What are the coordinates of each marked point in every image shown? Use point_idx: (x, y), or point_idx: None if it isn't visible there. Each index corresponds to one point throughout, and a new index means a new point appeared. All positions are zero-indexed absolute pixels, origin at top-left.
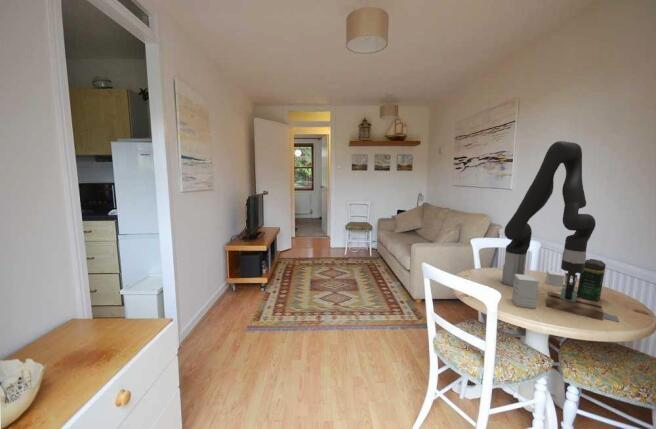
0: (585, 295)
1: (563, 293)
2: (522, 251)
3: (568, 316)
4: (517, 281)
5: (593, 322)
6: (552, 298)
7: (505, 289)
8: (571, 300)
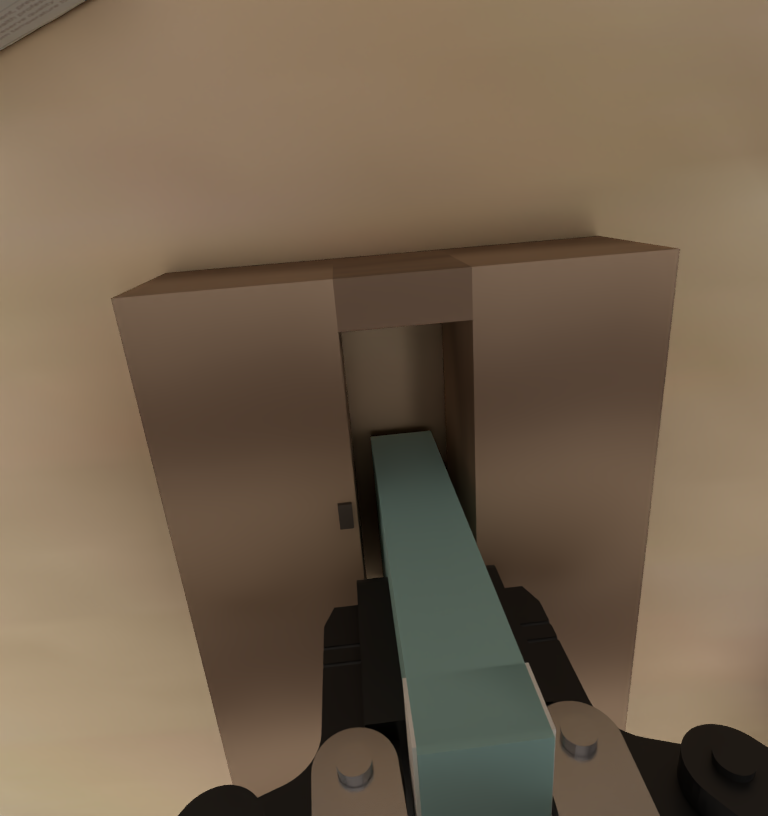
0: None
1: (392, 606)
2: None
3: (48, 558)
4: None
5: (124, 746)
6: (255, 384)
7: None
8: None
